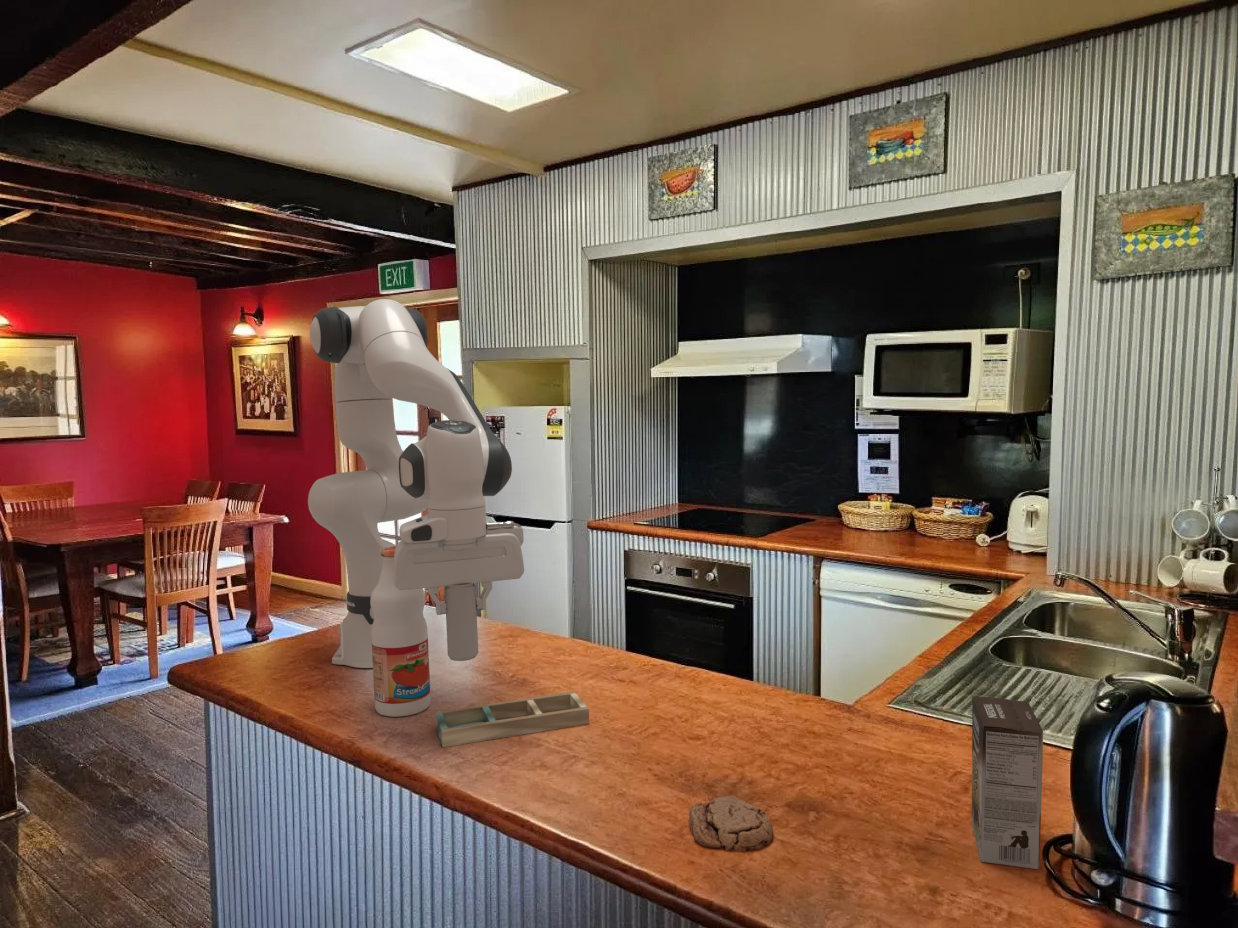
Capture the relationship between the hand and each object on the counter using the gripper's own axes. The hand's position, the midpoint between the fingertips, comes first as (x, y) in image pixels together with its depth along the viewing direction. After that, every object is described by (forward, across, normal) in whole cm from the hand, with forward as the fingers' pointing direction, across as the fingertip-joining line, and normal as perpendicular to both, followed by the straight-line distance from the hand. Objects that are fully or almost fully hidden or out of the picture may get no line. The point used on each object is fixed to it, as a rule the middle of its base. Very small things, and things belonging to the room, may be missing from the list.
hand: (461, 611), depth 131 cm
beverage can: (+8, 0, 0) cm, 8 cm away
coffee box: (+20, -53, +57) cm, 81 cm away
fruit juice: (+20, +8, -15) cm, 26 cm away
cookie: (+20, -26, +42) cm, 53 cm away
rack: (+20, -8, 0) cm, 21 cm away
